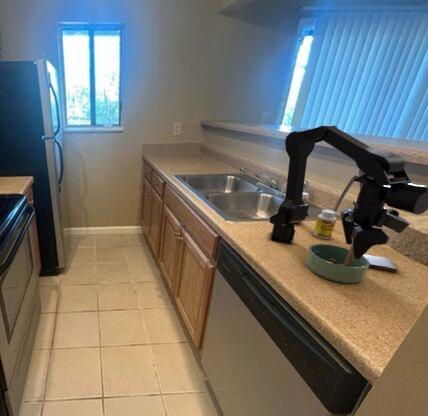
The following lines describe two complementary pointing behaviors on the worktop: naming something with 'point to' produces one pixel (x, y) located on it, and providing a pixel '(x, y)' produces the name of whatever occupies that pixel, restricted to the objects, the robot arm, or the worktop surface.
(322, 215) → the supplement bottle
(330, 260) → the bead
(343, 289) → the worktop surface
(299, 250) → the worktop surface
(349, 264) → the wooden pestle
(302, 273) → the worktop surface
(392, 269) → the dark grey slate tile
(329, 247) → the bowl
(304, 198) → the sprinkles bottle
